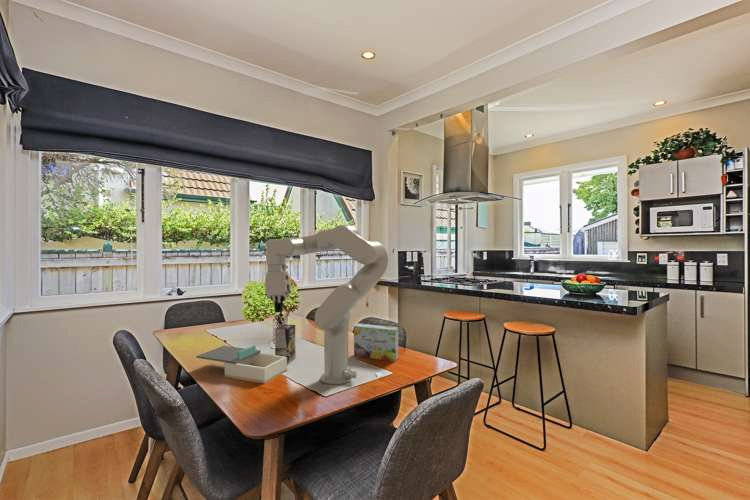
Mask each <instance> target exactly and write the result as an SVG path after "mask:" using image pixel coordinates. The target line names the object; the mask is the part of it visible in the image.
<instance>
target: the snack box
mask: <svg viewBox="0 0 750 500" xmlns="http://www.w3.org/2000/svg"><path fill="white" fill-rule="evenodd" d="M353 356H354V357H360V358H368V359H374V360H381V361H388V362H396V361H397V360H398V359H399V327H398V326H395V327H394V326H387V325H386V326H385V325H378V324H377V325H375V324H367V323H356V324H354V325H353Z"/></svg>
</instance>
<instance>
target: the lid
mask: <svg viewBox="0 0 750 500" xmlns="http://www.w3.org/2000/svg"><path fill="white" fill-rule="evenodd" d="M258 353H261V350H259V349H257V348H256V345H251V346H249V347H246V348H244V347H235V346H229V345H222V346H219V347H217V348H215V349H211V350H209V351H206V352H203V353H200V354H198V355H196V356H195V357H196V359H202V360H208V361H209V360H210V361H215V362H222V363H225V362H227V363H233V364H236V363H238V362H240V361H243V360H245V359H247V358H249V357H251V356H254V355H256V354H258Z"/></svg>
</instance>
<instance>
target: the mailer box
mask: <svg viewBox="0 0 750 500" xmlns="http://www.w3.org/2000/svg"><path fill="white" fill-rule="evenodd" d="M287 371H288V364H287V357H283V356H276V355H275V354H267V353H266V354H265V353H261V352H260V353H258V354H256V355H254V356H251V357H249V358H247V359H245V360H243V361H240V362H238V363H236V364H233V363H227V362H224V377H225V378H230V379H236V380H242V381H247V382H253V383H258V384H267V383H270V381H272V380H274V379H275V378H277V377H279V376H281V375H283V374H284V373H286V372H287Z"/></svg>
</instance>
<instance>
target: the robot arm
mask: <svg viewBox="0 0 750 500" xmlns="http://www.w3.org/2000/svg"><path fill="white" fill-rule="evenodd" d="M265 247H266V248H265V249H266V250H265V253H266V264H267V265H266V267H267V268H266V269H267V270H266V271H267V272H266V273H265V280H264V281H265V287H264V289H265V294H266V298H268V299H271V301H272V303H273V304H274V312H275V313H281V312H283V310H284V305H283V302H285V299H289V298H290V297H291V296H290V295H291V293H292V286H291V285H292V284H291V279H290V274H289V272H288V271H287V270H288V268H289V266H288V265H287V263H286V257H294V256H302V255H309V254H313V253H320V252H321V253H323V252H328V251H334V250H340V251H342V253H344V254H345V255H347V256H349V257H350V258H351V259H353V260H354V261H355V262H357V263H359V264H362V265H363V266H362V267H361V268H360V269H359V270H358V271H357V272H356V274H355V275H354V276H353V277H352V278H351V279H350V280H349V281H348V282H346V283H344V284H340V285H338V286H337V287H336V288H335V289H333V290H332V292H330V294H328V296H327V298H325V300H324V301H323V302H322V303H321V304H320V305H319V307H318V308H317V309H316V311H315V314H314V322H315V324H316V326H317V327H318V328H319V329H320V330H322V331H324V337H323V338H324V340H323V341H324V344H323V345H324V346H323V347H324V349H323V350H324V351H323V352H324V355H323V356H324V373H322V374H321V375H320V380H321V382H322V383H324V384H327V385H344V384H347V383H349V382H350V381H352V379H356V380H357V377H358V374H357V371H354V370H352V369H351V366H349V325H350V311H351V310H352V309H353V308H355V307H356V306H358V305H360V303H361V302H363V300H364V299H365V298H366V296H367V295H368V294H369V293H370V292H371V291H372V290H373V288H374V287H375V286H376V285H377V284H378V282H379V281H380V280H381V279H382V277H383V276H384V275H385V272H386V270H387V267H388V263H389V257H388V252H387V249H386V247H385V246H384V244H382V243H380V242H379V241H376V240H374V241H373V240H371V241H368V240H366V239H365V238H363V237H362V236H360V231H359V230H358V228H357V227H355V226H353V225H351V224H350V225H348V224H339V225H336V226H335V227H333V228H328V229H322V230H318V231H317V232H316V233H315V234H311V235H308V236H301V237H285V238H279V239H278V238H277V239H276V238H274V239H267V240H266V241H265Z"/></svg>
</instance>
